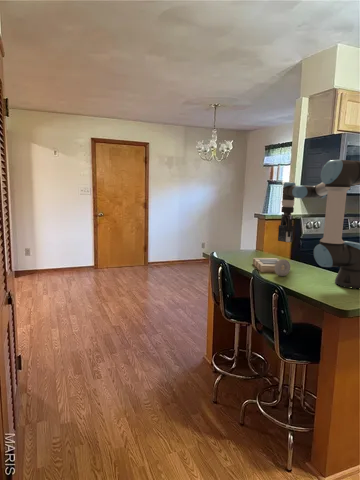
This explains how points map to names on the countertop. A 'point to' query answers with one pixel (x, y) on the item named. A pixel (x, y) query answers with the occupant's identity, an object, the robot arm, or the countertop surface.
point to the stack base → (266, 264)
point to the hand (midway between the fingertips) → (285, 240)
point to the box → (284, 233)
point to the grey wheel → (285, 270)
